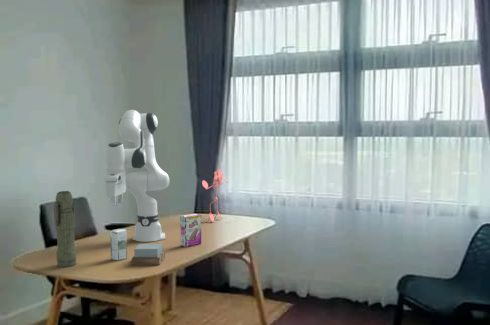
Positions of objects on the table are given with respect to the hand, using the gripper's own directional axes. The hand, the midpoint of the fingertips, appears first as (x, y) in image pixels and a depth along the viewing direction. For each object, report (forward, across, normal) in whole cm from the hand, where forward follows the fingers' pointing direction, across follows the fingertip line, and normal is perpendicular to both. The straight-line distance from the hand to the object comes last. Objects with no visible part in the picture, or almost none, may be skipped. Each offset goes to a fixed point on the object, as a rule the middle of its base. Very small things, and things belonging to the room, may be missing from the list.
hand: (117, 204), depth 269 cm
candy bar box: (+27, -30, +31) cm, 51 cm away
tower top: (+24, +5, +16) cm, 29 cm away
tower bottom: (+28, +5, +16) cm, 33 cm away
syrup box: (+27, 0, 0) cm, 27 cm away
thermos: (+27, +11, -22) cm, 37 cm away
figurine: (+27, -99, +39) cm, 110 cm away
